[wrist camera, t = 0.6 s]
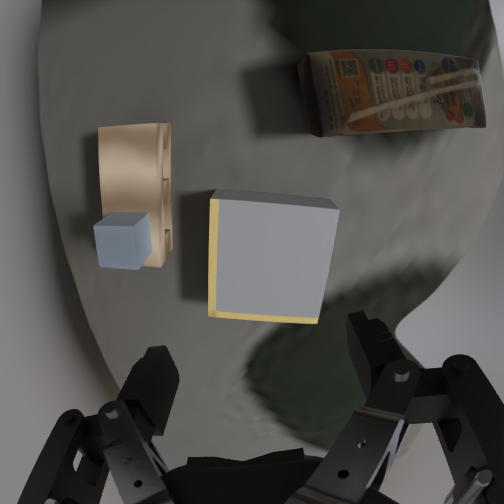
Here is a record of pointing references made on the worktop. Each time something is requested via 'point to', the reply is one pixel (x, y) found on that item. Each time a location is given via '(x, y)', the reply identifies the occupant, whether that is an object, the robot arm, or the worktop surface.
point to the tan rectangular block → (139, 178)
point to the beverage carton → (389, 91)
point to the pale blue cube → (123, 240)
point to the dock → (269, 255)
